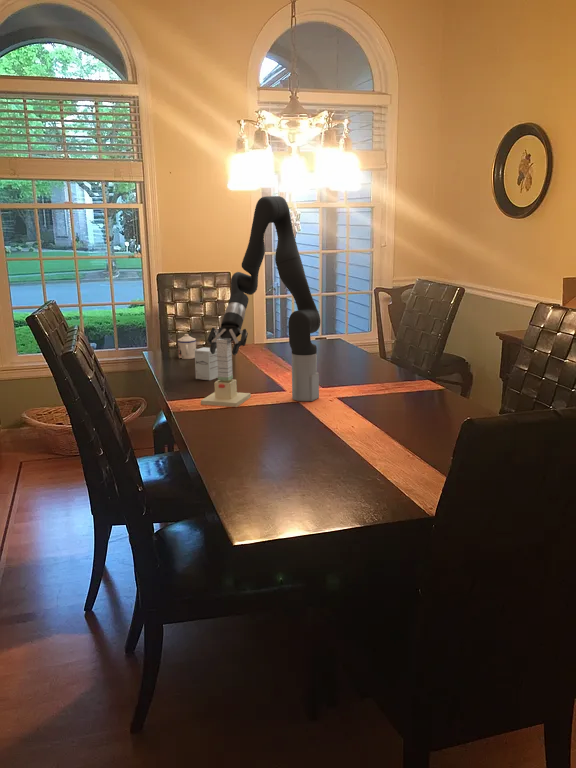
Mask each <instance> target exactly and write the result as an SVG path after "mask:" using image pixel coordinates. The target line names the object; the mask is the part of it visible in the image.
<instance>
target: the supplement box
mask: <svg viewBox="0 0 576 768" xmlns="http://www.w3.org/2000/svg"><path fill="white" fill-rule="evenodd" d="M194 366H195V367H194V369H195V380H204V381H212V380H216V379H218V362H217V348H216V350H215V353H214V354H212V353H211V351H210V347H200V348H196V350H195V358H194Z"/></svg>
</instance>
